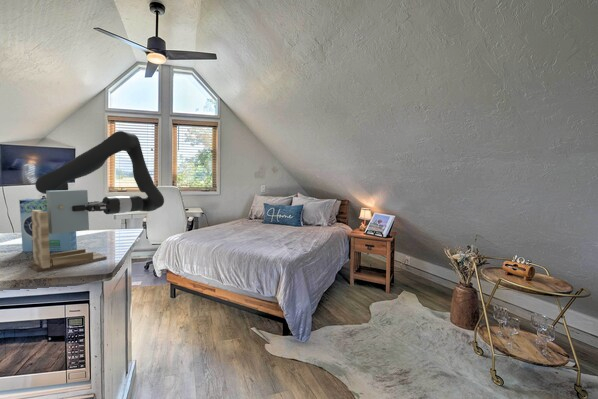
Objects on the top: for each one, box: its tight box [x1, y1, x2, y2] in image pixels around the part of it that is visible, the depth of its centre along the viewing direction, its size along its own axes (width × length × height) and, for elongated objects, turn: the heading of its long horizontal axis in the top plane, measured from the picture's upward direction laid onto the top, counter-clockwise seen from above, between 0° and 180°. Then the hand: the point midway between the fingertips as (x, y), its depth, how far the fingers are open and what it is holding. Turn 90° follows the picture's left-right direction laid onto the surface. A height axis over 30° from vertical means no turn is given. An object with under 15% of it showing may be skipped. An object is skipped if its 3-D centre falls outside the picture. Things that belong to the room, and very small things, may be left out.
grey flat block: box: [45, 189, 90, 234], centre depth 116 cm, size 5×12×16 cm, turn 145°
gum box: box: [18, 198, 78, 253], centre depth 133 cm, size 20×5×23 cm, turn 97°
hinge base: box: [28, 210, 108, 273], centre depth 118 cm, size 11×22×21 cm, turn 145°
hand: (70, 208), depth 117 cm, fingers closed on grey flat block, 4 cm apart
